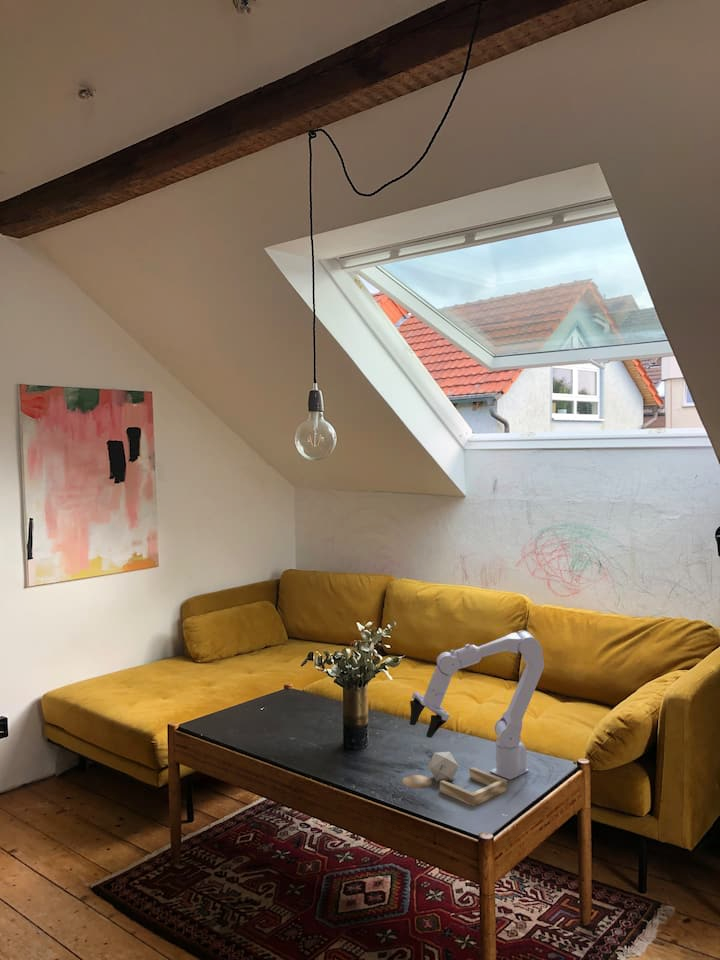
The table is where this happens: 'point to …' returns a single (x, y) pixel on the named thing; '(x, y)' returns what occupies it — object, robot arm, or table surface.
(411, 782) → the coaster
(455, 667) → the robot arm
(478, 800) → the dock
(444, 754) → the die
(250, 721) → the table surface
